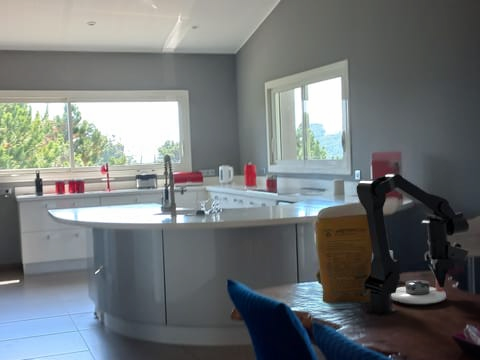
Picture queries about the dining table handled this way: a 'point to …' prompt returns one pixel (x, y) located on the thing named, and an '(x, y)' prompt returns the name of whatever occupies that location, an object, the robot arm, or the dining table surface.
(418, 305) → the turntable base
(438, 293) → the platter
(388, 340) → the dining table surface
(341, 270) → the pancake mix bag
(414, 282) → the cover
